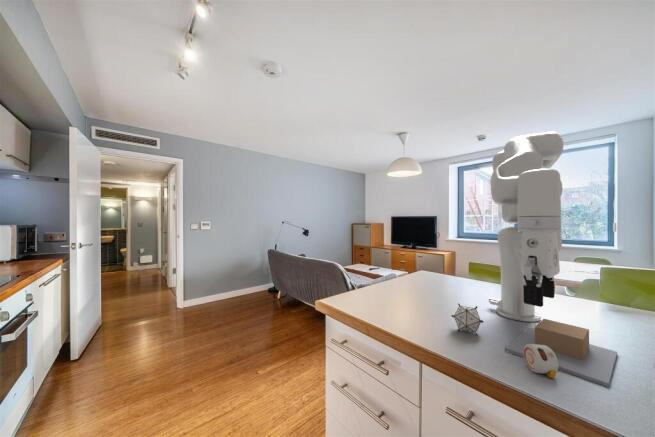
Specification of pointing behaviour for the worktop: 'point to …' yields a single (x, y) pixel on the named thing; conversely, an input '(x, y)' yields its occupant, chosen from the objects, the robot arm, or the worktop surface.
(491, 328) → the worktop surface
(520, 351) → the tower base
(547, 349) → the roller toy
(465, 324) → the white geodesic ball toy
